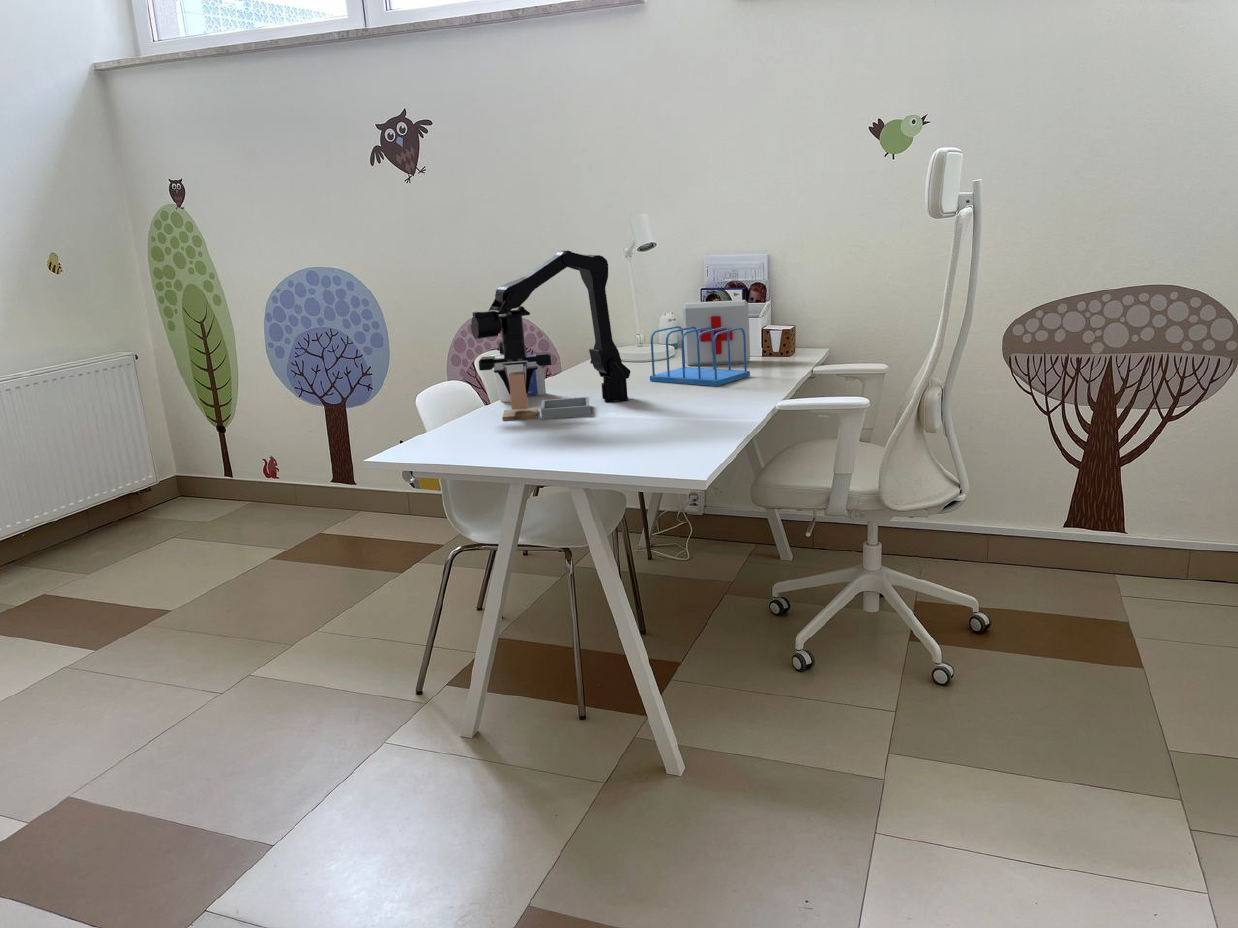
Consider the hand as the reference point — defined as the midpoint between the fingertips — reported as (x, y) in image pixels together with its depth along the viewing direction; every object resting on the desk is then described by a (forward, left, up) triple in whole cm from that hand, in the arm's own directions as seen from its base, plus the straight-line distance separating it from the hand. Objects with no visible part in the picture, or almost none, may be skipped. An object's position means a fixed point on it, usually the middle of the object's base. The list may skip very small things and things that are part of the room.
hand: (518, 393), depth 248 cm
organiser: (-12, 0, -6) cm, 13 cm away
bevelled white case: (-62, -59, -6) cm, 86 cm away
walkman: (-2, -29, -6) cm, 30 cm away
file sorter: (-52, -34, -6) cm, 63 cm away
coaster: (0, 0, -6) cm, 6 cm away
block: (0, 0, -4) cm, 4 cm away
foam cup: (+4, -24, -6) cm, 25 cm away
